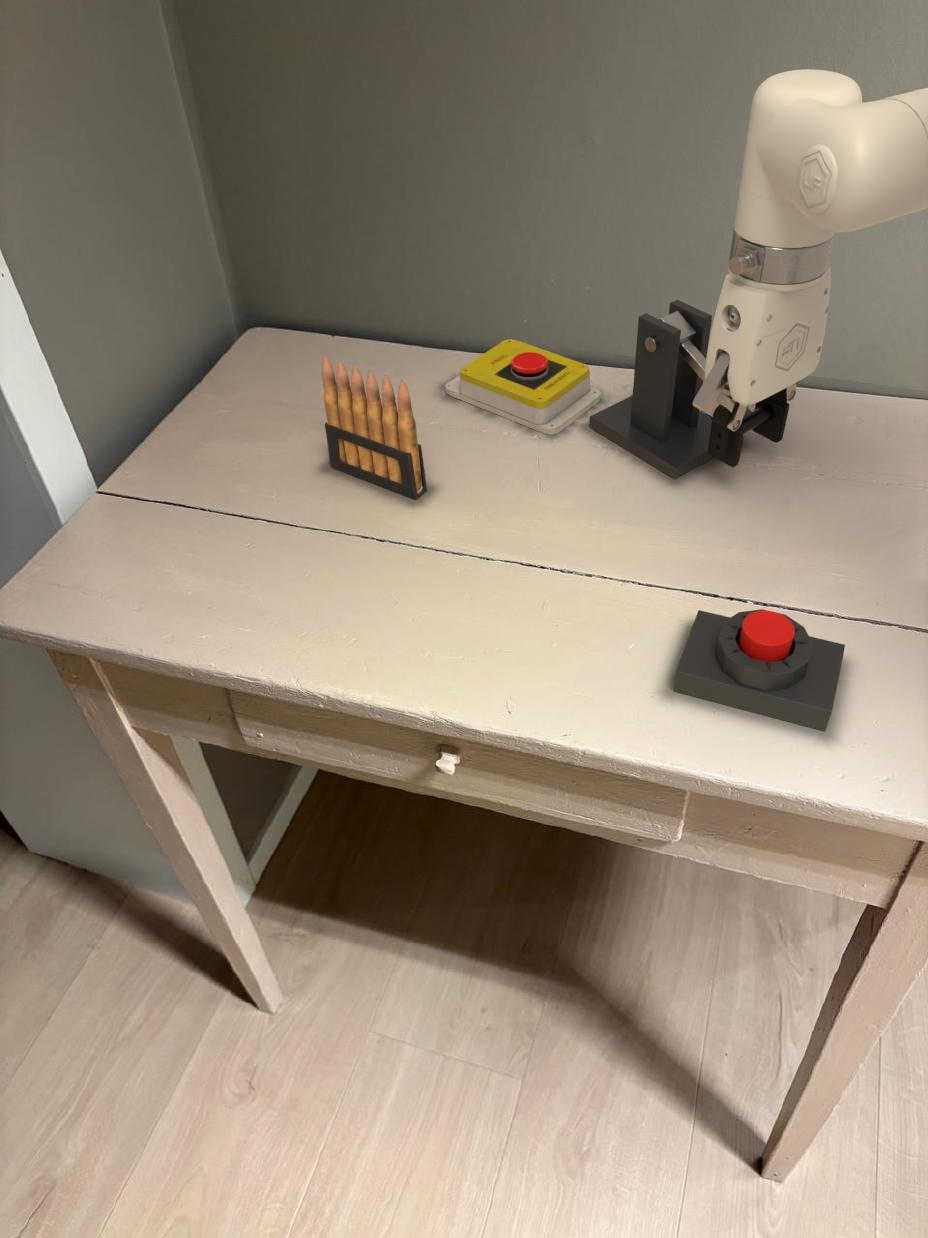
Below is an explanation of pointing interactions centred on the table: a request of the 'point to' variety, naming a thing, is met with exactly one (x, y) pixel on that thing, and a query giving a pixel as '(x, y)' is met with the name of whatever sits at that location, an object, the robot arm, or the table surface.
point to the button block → (760, 672)
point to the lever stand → (662, 398)
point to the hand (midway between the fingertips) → (745, 445)
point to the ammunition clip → (372, 431)
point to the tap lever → (698, 365)
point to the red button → (766, 636)
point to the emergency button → (527, 386)
